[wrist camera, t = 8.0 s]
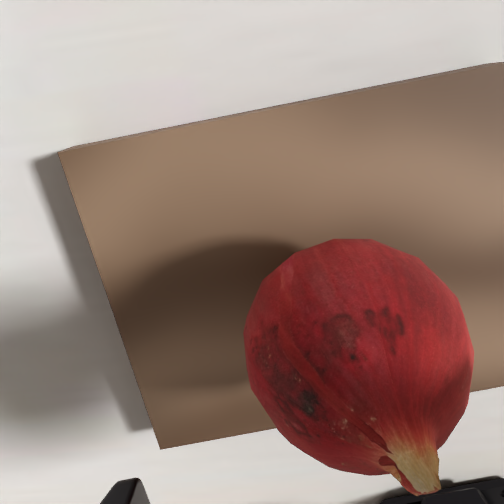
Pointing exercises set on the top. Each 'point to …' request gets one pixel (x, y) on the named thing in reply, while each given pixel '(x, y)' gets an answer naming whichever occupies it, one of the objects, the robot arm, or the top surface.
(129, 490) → the robot arm
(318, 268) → the onion
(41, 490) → the top surface
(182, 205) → the walnut board
